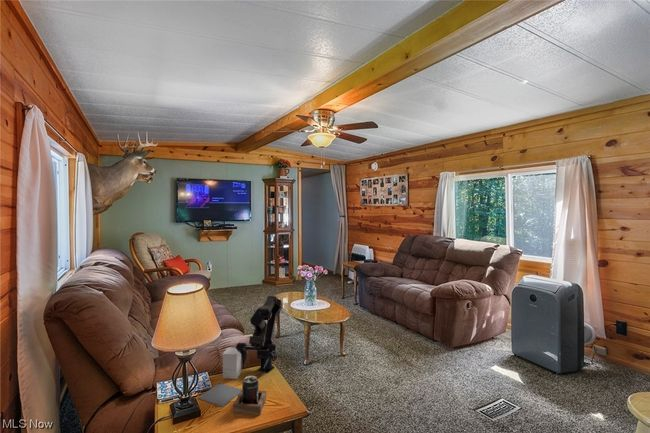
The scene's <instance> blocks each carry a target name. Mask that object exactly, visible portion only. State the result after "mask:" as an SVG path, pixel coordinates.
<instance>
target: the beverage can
mask: <svg viewBox="0 0 650 433" xmlns="http://www.w3.org/2000/svg"><path fill="white" fill-rule="evenodd" d="M241 384H242V385H241V386H242V388H241V389H242V403H241V404H258V402H259V400H258V391H259V380H258V377H257V376H255V375H247V376H245V377H244V379H243V381H242V383H241Z"/></svg>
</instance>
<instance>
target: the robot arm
mask: <svg viewBox="0 0 650 433" xmlns="http://www.w3.org/2000/svg"><path fill="white" fill-rule="evenodd" d="M282 309H283V302H282V300H281V299H279V298H278V296H275V295H269V296H267V298H266V301H265V302H264V303H263V305H262V306H259V307H257V309H256V310H255V311H254V313H253V315H252V316H251V317H250V318H249V320H250V325H251V326H252V328H253V329H254V330H253V333H252V335H251V336H249V340H248V344H249V345H247V343H246V342H238V343H237V344H236V346H235V348H236V349H237V351H238V352H240V353H241V363H242V367H243V368H245V367H246V364H247V363H246V361H247V356H248V353H247V351H256V355H257V356H256V357H257V359H258V360H260V366H259V368H258V369H257V370H258V371H260V372H264V373H267V372H268V373H270V372H271V371H272V370H273V369H275V368H276V366H275V365H273V360H275V359H276V358H277V357H276V356H277V354H278V346H277V344H275V343H273V338H274V334H275V333H274V332H275V327H276V322H277V317H278V316H279V315H280V314H281V311H282ZM266 321H267V322H266ZM274 366H275V367H274Z"/></svg>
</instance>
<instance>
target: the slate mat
mask: <svg viewBox="0 0 650 433" xmlns="http://www.w3.org/2000/svg"><path fill="white" fill-rule="evenodd" d="M241 390H242V388H238V387H236V386H235V387H234V386H232V385H229V384H225V383H222V382H220V383H219V382H218V383H217V384H216V385H214V386H213V387H212V388H210V389H208V390H207V391H205V393H203V394H202V395H200V396H199V397H197V399H198V400H201V401H203V402H206V403H209V404H212V405H216V406H218V407H220V408H224V407H225V406H226V405H227V404H229V403H230V402H231V401H232V400H233V399H235V398H237V397H238V395H239V393H240V391H241Z"/></svg>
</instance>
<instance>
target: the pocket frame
mask: <svg viewBox="0 0 650 433" xmlns="http://www.w3.org/2000/svg"><path fill="white" fill-rule="evenodd" d="M266 401H267V391H266V390H258V404H242V390H241V391H240V393H239V395H237V396H236V399H235V401H234V403H233V405H232V413H233V414H234V415H235V414H237V415H255V416H256V415H259V416H260V415H261V414H262V411H263V408H264V405H265V403H266Z"/></svg>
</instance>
